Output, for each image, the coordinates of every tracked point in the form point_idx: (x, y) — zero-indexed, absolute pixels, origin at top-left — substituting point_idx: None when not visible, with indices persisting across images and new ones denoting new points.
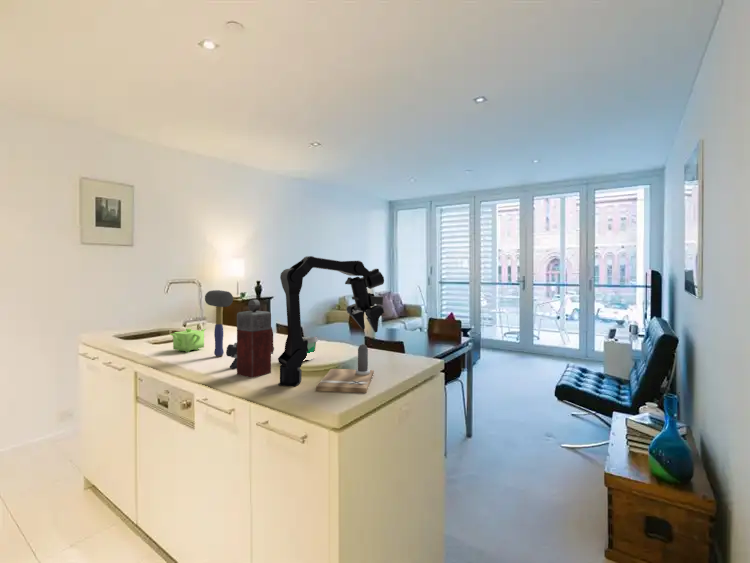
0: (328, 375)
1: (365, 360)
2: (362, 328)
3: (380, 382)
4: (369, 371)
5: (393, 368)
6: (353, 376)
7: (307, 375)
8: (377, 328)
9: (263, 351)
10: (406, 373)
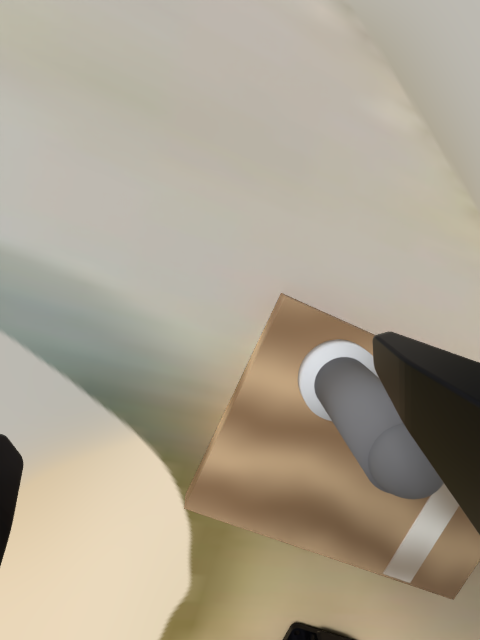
0: (311, 537)
1: None
2: (16, 475)
3: (439, 308)
4: (367, 351)
5: (184, 120)
6: None
7: (205, 593)
8: (435, 352)
9: None
10: (328, 87)
